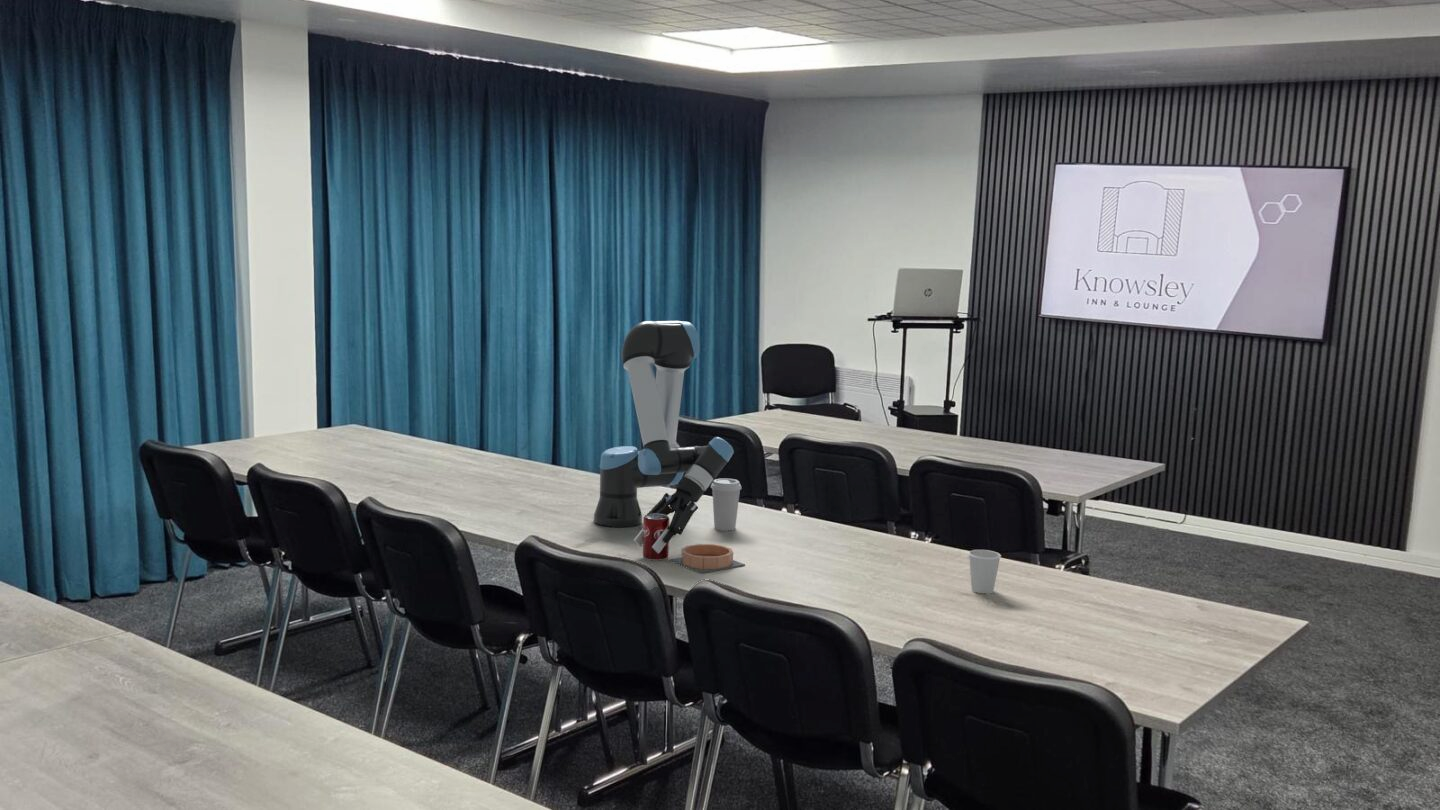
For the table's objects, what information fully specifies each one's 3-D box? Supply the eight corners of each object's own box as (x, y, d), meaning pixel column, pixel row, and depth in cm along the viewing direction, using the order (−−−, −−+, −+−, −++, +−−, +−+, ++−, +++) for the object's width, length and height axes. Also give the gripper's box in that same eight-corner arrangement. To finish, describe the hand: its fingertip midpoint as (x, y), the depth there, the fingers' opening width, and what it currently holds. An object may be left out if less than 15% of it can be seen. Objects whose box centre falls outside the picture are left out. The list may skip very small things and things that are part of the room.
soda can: (672, 556, 335) (673, 514, 334) (662, 562, 329) (663, 520, 327) (648, 553, 338) (649, 512, 336) (638, 559, 331) (639, 517, 329)
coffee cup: (737, 533, 364) (738, 485, 362) (706, 530, 366) (708, 482, 364) (742, 525, 373) (744, 479, 371) (713, 523, 375) (714, 477, 373)
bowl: (669, 560, 331) (669, 548, 330) (711, 553, 340) (712, 541, 339) (701, 573, 319) (701, 560, 318) (744, 565, 328) (745, 553, 327)
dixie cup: (963, 585, 316) (965, 548, 314) (995, 586, 315) (997, 550, 314) (969, 594, 307) (971, 557, 306) (1001, 596, 307) (1004, 558, 306)
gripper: (723, 499, 332) (675, 563, 324) (679, 485, 348) (632, 546, 341) (709, 482, 328) (660, 547, 320) (665, 469, 344) (617, 530, 337)
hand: (646, 546), depth 331 cm, fingers open, 8 cm apart
